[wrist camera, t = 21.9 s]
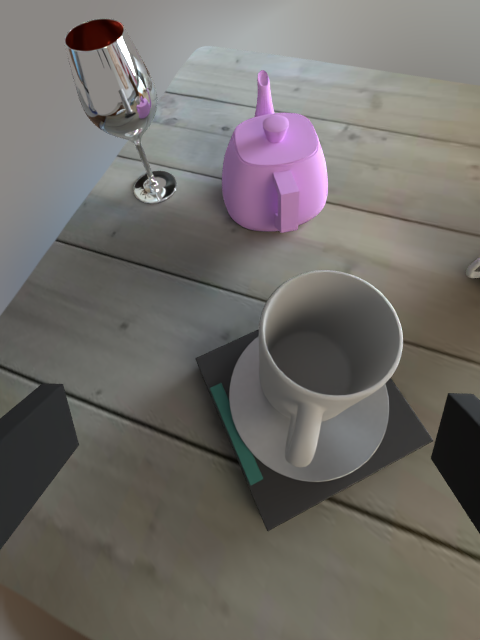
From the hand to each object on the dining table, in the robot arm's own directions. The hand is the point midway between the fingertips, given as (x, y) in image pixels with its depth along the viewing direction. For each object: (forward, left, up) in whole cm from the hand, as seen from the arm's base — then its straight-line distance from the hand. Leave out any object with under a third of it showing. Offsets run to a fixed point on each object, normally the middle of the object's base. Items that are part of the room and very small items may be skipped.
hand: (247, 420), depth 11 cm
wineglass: (+2, +38, -21) cm, 43 cm away
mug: (+6, +2, -17) cm, 18 cm away
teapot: (+16, +28, -21) cm, 38 cm away
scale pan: (+6, +2, -18) cm, 19 cm away
